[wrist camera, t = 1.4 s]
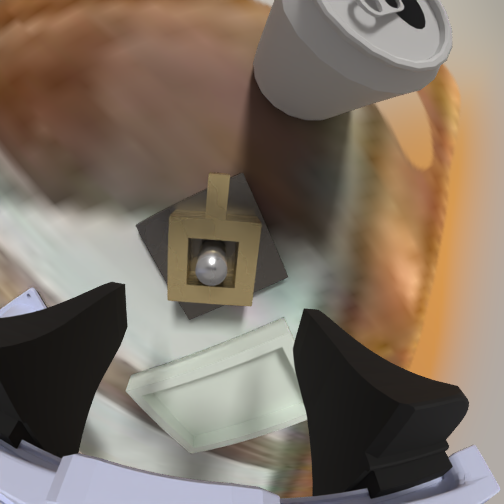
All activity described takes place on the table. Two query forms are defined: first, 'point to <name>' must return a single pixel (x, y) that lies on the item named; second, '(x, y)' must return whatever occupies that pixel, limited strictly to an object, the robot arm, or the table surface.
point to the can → (348, 53)
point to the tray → (225, 390)
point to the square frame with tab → (215, 228)
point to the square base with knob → (214, 244)
